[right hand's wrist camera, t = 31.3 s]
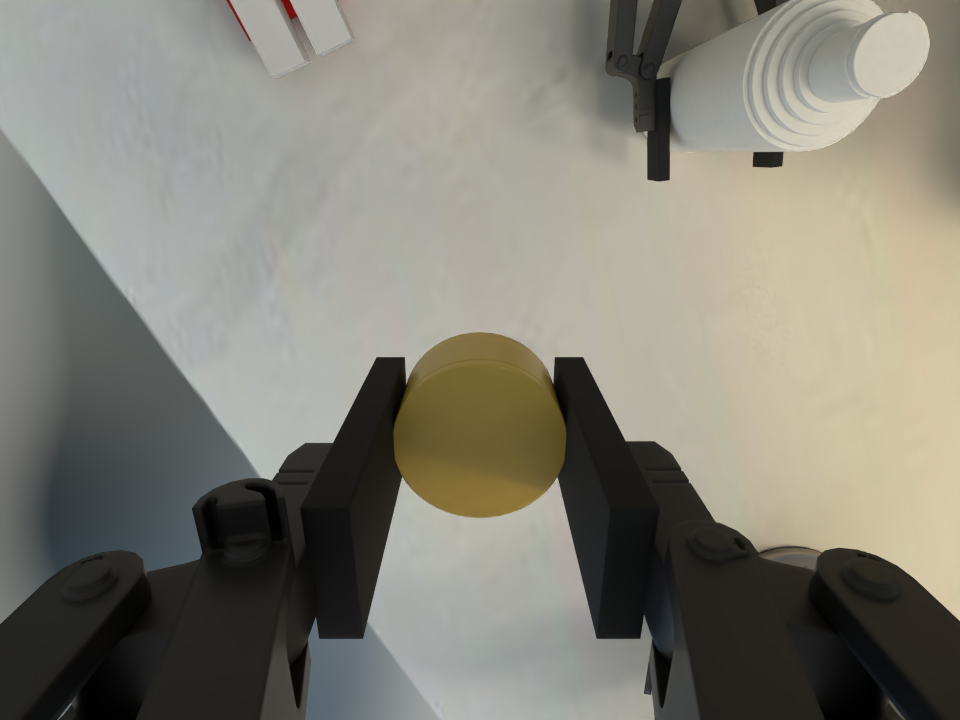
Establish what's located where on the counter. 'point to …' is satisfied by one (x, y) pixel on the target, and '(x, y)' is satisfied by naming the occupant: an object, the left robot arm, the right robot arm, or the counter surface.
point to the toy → (291, 30)
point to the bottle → (792, 77)
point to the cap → (479, 427)
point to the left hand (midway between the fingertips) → (712, 172)
